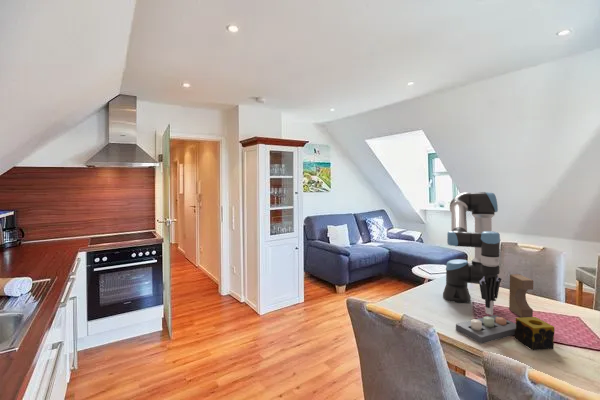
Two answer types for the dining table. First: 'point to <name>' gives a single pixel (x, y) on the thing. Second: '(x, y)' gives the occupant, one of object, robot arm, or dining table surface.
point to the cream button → (476, 325)
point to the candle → (534, 333)
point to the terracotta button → (501, 321)
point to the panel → (487, 330)
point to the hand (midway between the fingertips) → (489, 313)
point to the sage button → (488, 322)
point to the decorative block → (520, 295)
